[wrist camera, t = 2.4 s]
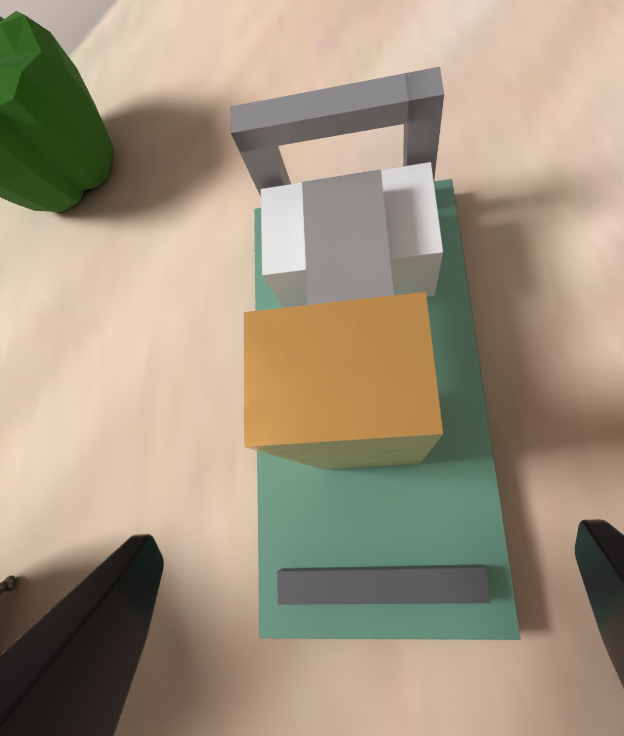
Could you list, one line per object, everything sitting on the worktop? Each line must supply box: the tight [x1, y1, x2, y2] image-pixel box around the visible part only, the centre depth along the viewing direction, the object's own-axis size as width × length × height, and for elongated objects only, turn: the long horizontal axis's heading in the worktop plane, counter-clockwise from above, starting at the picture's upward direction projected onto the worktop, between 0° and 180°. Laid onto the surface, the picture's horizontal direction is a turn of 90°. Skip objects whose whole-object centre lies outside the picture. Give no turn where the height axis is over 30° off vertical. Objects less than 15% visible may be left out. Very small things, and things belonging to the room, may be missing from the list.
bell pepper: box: [0, 11, 113, 212], centre depth 24 cm, size 8×8×10 cm
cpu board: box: [231, 67, 521, 640], centre depth 18 cm, size 20×10×8 cm, turn 3°
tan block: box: [244, 170, 443, 470], centre depth 16 cm, size 10×4×10 cm, turn 3°
